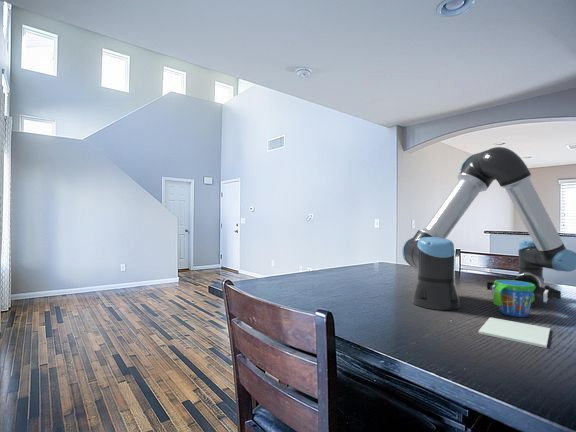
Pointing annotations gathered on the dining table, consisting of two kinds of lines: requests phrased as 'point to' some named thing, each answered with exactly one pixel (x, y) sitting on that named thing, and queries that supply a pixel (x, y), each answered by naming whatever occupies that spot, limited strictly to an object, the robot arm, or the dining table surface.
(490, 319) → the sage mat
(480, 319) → the dining table surface
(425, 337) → the dining table surface
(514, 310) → the snack cup
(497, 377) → the dining table surface
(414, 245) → the robot arm
